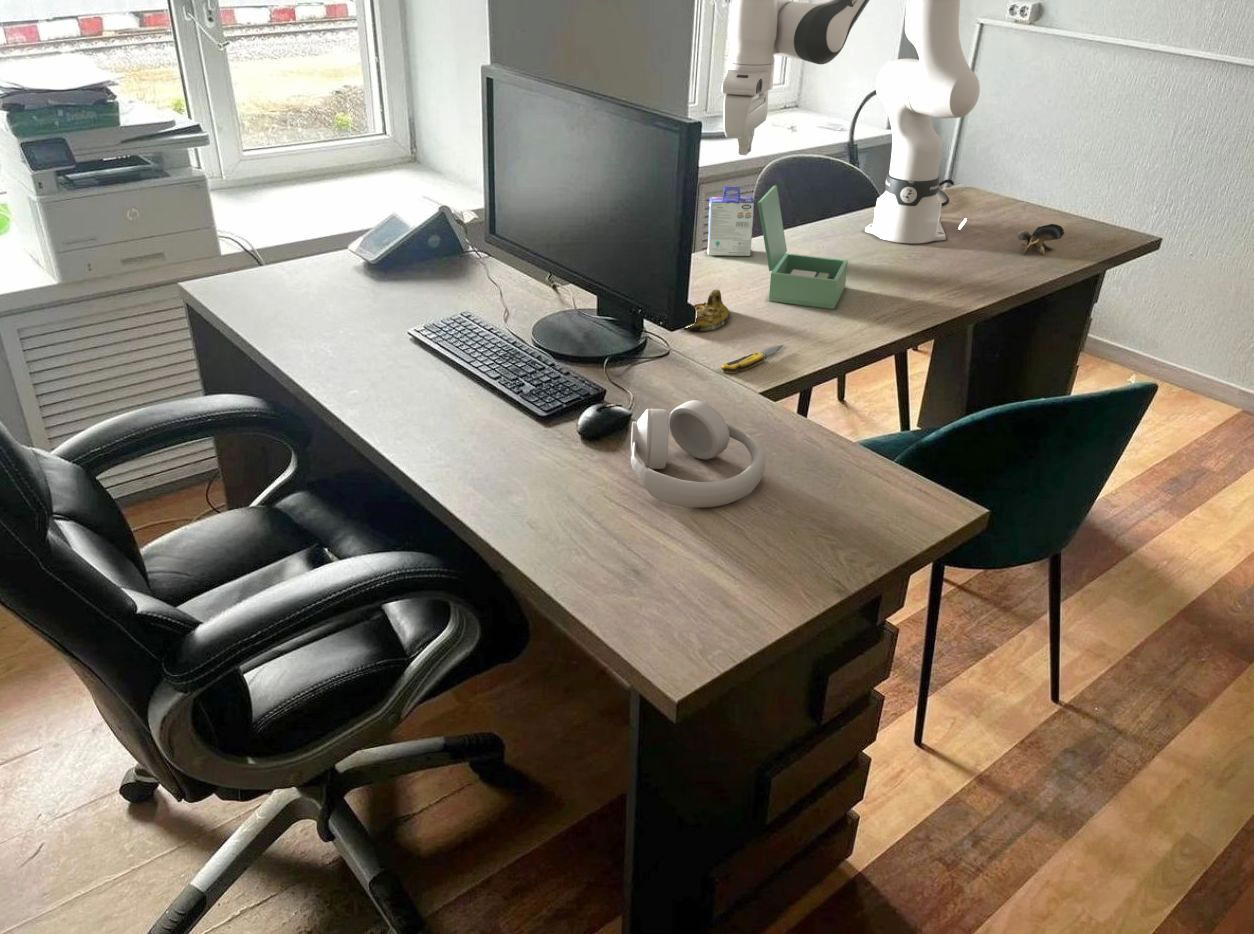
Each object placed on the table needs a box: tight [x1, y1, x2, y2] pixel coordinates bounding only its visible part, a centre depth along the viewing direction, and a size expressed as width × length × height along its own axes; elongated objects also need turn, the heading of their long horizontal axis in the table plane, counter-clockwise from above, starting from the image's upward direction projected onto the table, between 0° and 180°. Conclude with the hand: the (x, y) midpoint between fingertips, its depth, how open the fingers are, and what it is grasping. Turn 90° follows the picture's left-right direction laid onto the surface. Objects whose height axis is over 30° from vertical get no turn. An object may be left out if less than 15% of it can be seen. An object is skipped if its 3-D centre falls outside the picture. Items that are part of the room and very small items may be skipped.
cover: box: [757, 185, 788, 272], centre depth 200 cm, size 14×14×1 cm
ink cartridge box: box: [706, 186, 755, 257], centre depth 224 cm, size 10×6×14 cm, turn 89°
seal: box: [682, 289, 731, 332], centre depth 190 cm, size 9×5×15 cm
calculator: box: [788, 269, 832, 279], centre depth 203 cm, size 8×5×3 cm, turn 70°
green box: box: [768, 252, 849, 310], centre depth 203 cm, size 13×14×6 cm
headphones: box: [630, 399, 766, 509], centre depth 139 cm, size 18×8×20 cm
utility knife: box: [721, 344, 784, 374], centre depth 175 cm, size 16×1×3 cm
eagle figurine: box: [1016, 223, 1065, 256], centre depth 228 cm, size 8×7×9 cm
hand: (744, 153), depth 195 cm, fingers closed
